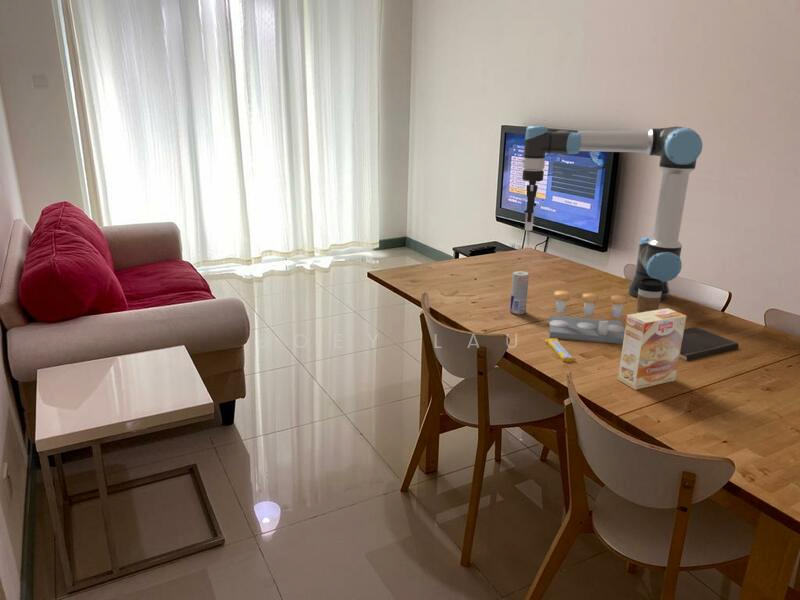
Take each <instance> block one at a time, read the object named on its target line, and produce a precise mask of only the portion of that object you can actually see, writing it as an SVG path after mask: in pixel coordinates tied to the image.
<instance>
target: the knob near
mask: <svg viewBox="0 0 800 600" xmlns="http://www.w3.org/2000/svg"><path fill="white" fill-rule="evenodd" d="M610 302H611V303H612V310H611V317H612V318H617V319H621V318H622V317H623V312H624V311H623V310H624V305H626V304H627V303H628V297H627V296H625V295H622V294H612V295H611V296H610Z"/></svg>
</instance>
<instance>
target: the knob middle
mask: <svg viewBox="0 0 800 600" xmlns="http://www.w3.org/2000/svg"><path fill="white" fill-rule="evenodd" d="M581 297H582V298H581V300H582V301H584V305H583V315H585V316H590V317H591V316H594V312H595V303H596V302H598V301H599V294H597V293H594V292H584V293H582V296H581Z"/></svg>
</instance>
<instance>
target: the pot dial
mask: <svg viewBox="0 0 800 600" xmlns="http://www.w3.org/2000/svg"><path fill="white" fill-rule="evenodd" d="M608 327H609V322H608V321H599V327H598V334H599V335H601V336H607V334H608Z"/></svg>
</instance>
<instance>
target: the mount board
mask: <svg viewBox="0 0 800 600" xmlns="http://www.w3.org/2000/svg"><path fill="white" fill-rule="evenodd" d="M548 317H549V319H548V326H549V330H550V331H549V338H550V337H551V338H557V339H560V340H561V339H562V340H575V341H584V342H585V341H586V342H597V343H609V344H617V345H618V344H620V345H621V344H622V345H623V340H624V334H625V326H624V324H623V321H622V320H610V319H599V318H597V319H596V318H590V317H589V318H586V317H575V316H574V317H573V316H561V315H551V314H550V315H549V316H548ZM599 321H608V322H609V327H608V334H607V336H601V335H599V334H598V327H599ZM551 338H550V339H551Z"/></svg>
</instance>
